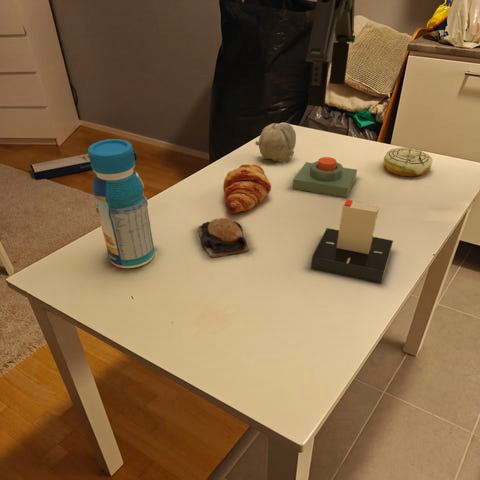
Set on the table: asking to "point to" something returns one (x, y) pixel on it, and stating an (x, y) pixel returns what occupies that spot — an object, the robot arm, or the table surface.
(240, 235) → the chocolate dessert
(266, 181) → the croissant
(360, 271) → the dial panel
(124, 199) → the beverage bottle
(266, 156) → the grey rounded lump
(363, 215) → the knob
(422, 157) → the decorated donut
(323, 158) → the button
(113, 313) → the table surface
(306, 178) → the button housing
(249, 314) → the table surface
